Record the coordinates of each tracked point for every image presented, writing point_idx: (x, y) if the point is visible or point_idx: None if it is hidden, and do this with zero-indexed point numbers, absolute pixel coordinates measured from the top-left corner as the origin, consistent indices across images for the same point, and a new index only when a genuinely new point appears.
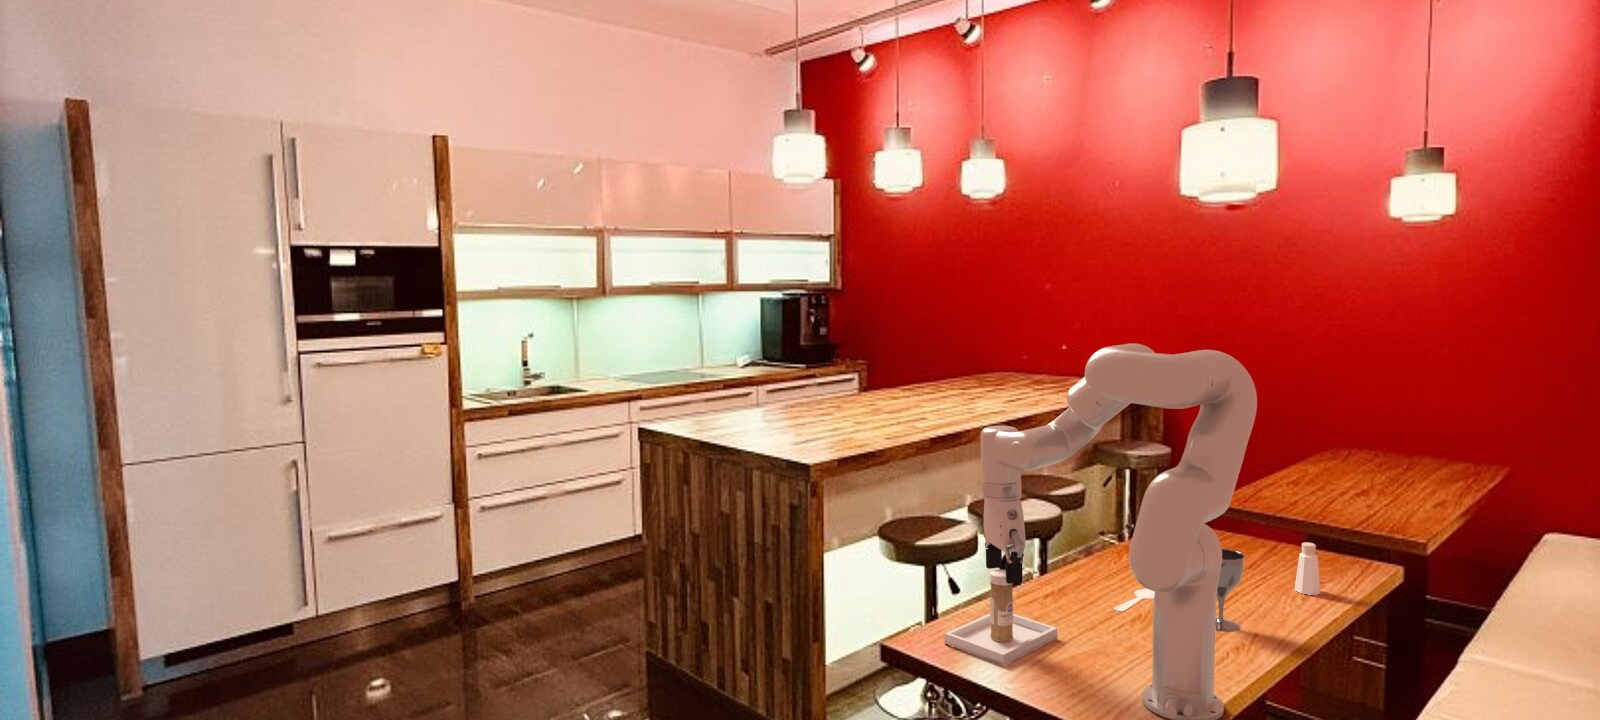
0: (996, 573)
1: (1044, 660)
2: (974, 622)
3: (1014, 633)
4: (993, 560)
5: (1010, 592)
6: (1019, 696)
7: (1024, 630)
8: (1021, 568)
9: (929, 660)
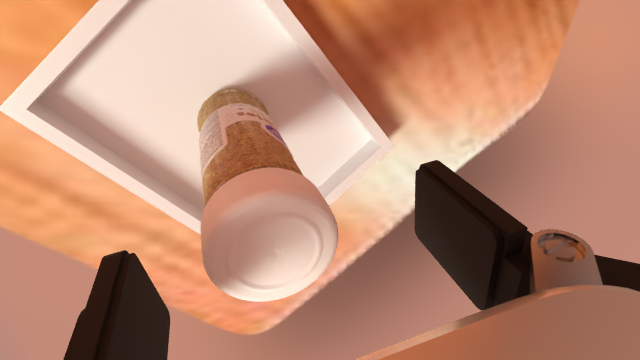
0: (288, 277)
1: (365, 20)
2: (171, 203)
3: (190, 73)
4: (151, 332)
5: (294, 164)
6: (500, 123)
7: (156, 29)
8: (489, 204)
9: (332, 271)
